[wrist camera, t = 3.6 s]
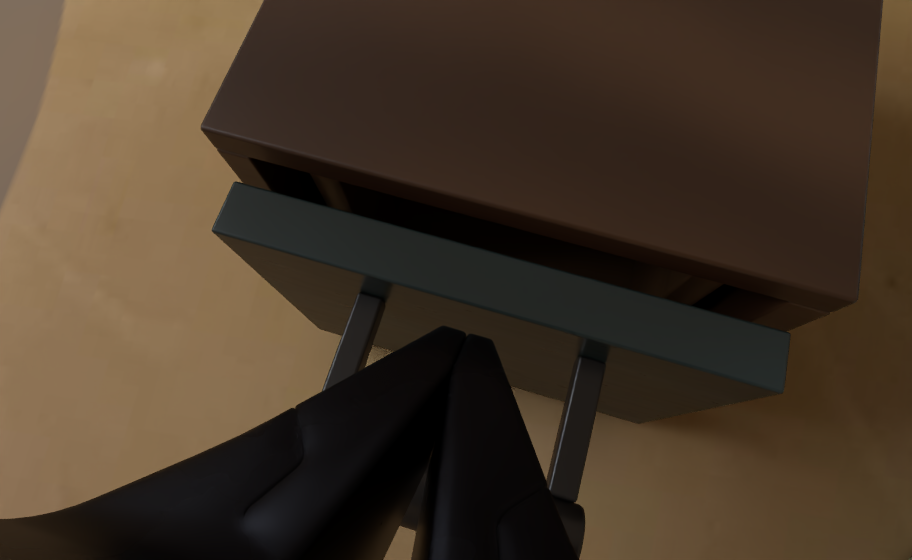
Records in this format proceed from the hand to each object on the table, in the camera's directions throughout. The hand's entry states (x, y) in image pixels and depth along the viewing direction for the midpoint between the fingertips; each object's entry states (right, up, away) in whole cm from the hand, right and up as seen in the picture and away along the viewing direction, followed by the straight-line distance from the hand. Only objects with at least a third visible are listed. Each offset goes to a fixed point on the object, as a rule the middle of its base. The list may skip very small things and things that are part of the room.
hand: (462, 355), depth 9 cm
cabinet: (+3, +6, +14) cm, 15 cm away
